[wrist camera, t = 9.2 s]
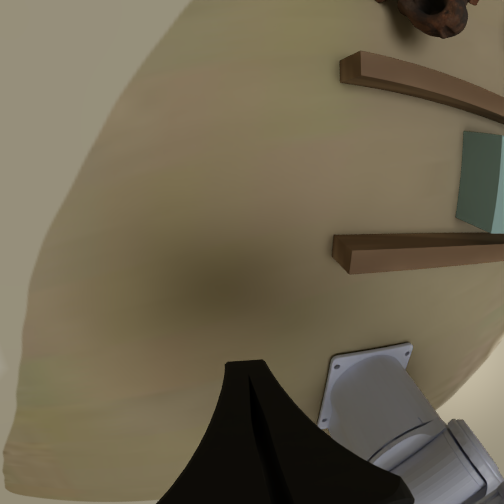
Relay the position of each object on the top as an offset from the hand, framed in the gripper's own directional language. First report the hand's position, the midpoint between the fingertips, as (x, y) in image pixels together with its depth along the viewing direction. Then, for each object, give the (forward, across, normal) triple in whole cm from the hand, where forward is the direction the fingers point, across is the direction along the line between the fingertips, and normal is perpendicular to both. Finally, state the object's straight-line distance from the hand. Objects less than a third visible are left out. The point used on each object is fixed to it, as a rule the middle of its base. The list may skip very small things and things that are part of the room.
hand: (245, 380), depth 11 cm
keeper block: (+11, -22, -7) cm, 26 cm away
